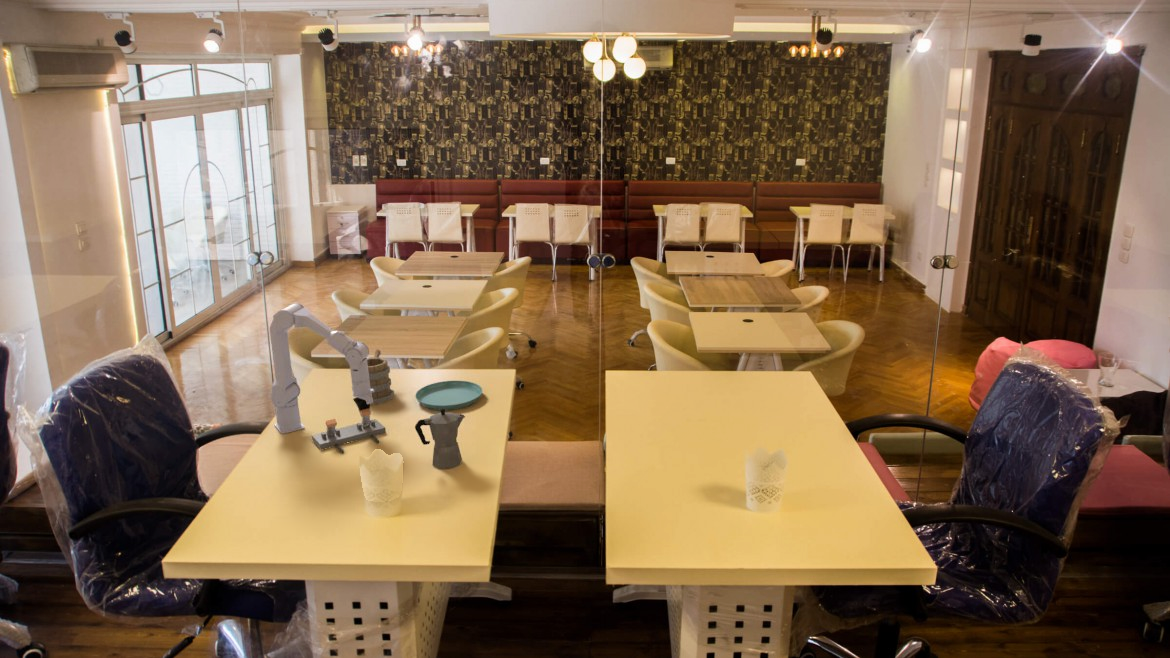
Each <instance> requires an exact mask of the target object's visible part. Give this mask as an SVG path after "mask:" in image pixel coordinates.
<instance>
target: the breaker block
mask: <svg viewBox="0 0 1170 658" xmlns="http://www.w3.org/2000/svg"><path fill="white" fill-rule="evenodd" d="M386 431H387V430H386V427H385V426H384V425H383V424H382V423H381V422H379V421H378V420H377V419H370V426H368V427H364V428H363V427H362V422H358V423H356V424H351V425H348V426H342V427H338V428H335V435H332V436H328V437H327V434H326V433H327V431H322V432H319V433H314V434H312V435H311V440H313V441H312V442H313V443H314V444H315V446H317V448H320V449H321V450H320V449H319V450H320V451H323V450H326V449H325V448H327V449H330V448H329V447H331V448H333V447H332V446H334V447H335V448H336V449H337V450H338V451H339V452H340V453H341V454H343V453H344V451H345V450H344V449H343V448H342V447H341V446H342V445H344V443H346V444H348V443H347V442H350V443H352V442H351V441H354V442H356V440H357V441H360V440H361V441H362V440H365V439H368V438H371V439H372V440H373V441H374V442H375V443H376V444H380V440H379V439H378V438H377V436H380V435H383V434H384V435H385V434H387V432H386ZM341 444H342V445H341ZM322 449H323V450H322Z"/></svg>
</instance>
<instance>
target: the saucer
mask: <svg viewBox="0 0 1170 658" xmlns="http://www.w3.org/2000/svg"><path fill="white" fill-rule="evenodd" d="M482 394H483V387H482V386H480V385H479V384H478V383H475V382H472V381H466V380H444V381H439V382H433V383H430V384H427V385H425V386H423V387H421V388H420V389H418V390H417V391H416V393H415V396H414V397H415V399H416V401H417V402H418V403H419V404H420V405H421V406H423V407H425V408H427V409H431V410H434V411H440V409H445V411H450V410H451V411H452V410H459V409H463V408H466V407H468V406H471V405H473V404H474V403H475V402H476V401H478V400H479V399H480V397H481V395H482Z"/></svg>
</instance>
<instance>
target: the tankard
mask: <svg viewBox="0 0 1170 658" xmlns="http://www.w3.org/2000/svg"><path fill="white" fill-rule="evenodd" d="M381 355H382V351H381V350H380V349H375V352H374V356H373V357H370V358H367V364H368V372H369V380H370V389H374V392H372V398H373V403H371V404H370V405H379V404H383V403H385V402H389V401H391V400H392V399H393V398H394V396H395V390H393V389H391V386H392V379H391V378H390V375H389V374H390V372H391V368H390V365H388V360H387V359H384V358H383V357H380V356H381Z"/></svg>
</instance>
